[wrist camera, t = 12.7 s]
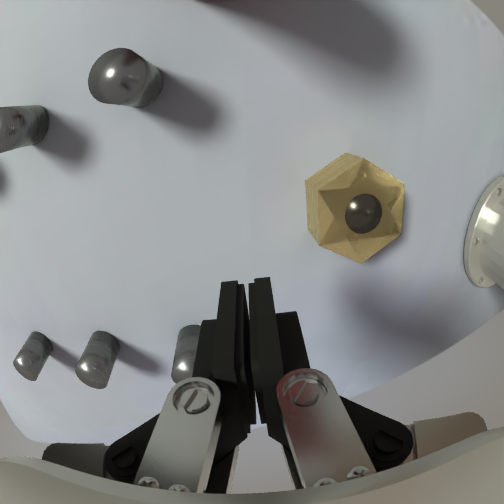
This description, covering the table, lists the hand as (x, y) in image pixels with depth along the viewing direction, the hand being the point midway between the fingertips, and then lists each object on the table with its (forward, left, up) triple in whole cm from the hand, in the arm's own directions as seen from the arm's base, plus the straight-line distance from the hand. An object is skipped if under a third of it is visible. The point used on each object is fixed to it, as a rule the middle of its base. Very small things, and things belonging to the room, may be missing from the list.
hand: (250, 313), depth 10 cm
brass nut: (-8, -1, -10) cm, 13 cm away
